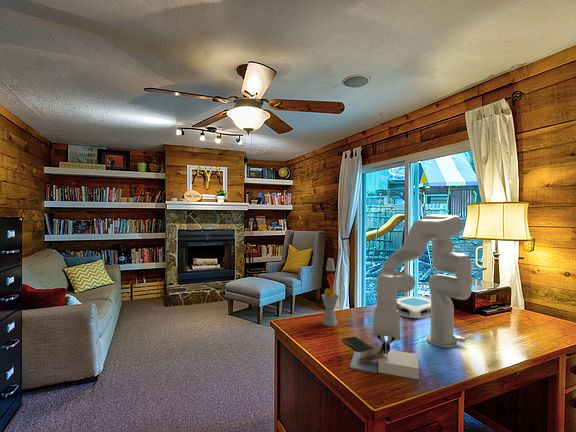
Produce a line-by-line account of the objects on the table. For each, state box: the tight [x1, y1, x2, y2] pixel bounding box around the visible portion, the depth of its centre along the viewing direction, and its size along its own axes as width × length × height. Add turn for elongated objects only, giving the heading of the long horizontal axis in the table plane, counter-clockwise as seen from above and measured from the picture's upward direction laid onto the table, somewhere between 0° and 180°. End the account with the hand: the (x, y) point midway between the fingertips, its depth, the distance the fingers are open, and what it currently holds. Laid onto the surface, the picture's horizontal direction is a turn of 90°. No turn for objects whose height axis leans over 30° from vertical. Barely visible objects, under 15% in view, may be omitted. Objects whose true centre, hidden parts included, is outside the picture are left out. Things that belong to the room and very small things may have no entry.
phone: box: [342, 336, 374, 352], centre depth 138 cm, size 8×1×15 cm
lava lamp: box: [321, 257, 339, 327], centre depth 165 cm, size 9×9×35 cm
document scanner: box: [397, 296, 431, 319], centre depth 188 cm, size 21×28×6 cm
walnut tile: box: [359, 345, 384, 364], centre depth 121 cm, size 9×6×2 cm, turn 70°
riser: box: [377, 349, 420, 380], centre depth 118 cm, size 14×12×4 cm
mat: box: [349, 351, 379, 374], centre depth 122 cm, size 10×14×1 cm
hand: (385, 352), depth 119 cm, fingers closed
